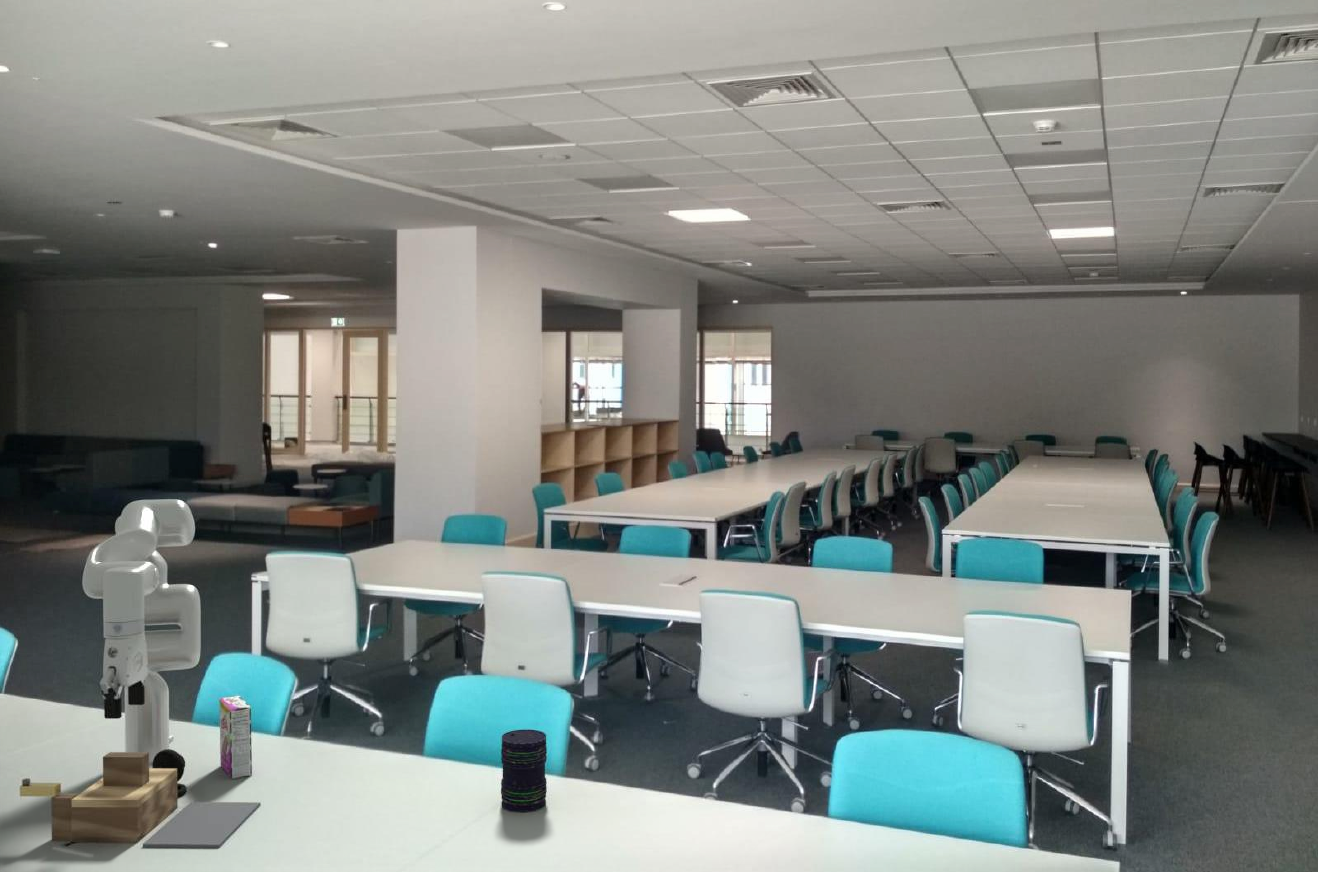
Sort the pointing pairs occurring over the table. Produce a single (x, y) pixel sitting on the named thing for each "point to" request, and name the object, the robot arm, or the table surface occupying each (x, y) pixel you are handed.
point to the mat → (203, 825)
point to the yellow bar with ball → (39, 789)
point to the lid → (125, 782)
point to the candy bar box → (235, 737)
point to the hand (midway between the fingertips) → (125, 711)
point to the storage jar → (523, 771)
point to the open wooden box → (111, 818)
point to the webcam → (171, 766)
